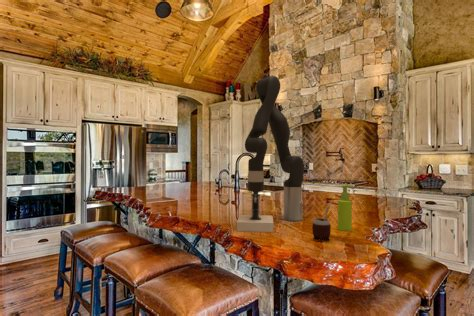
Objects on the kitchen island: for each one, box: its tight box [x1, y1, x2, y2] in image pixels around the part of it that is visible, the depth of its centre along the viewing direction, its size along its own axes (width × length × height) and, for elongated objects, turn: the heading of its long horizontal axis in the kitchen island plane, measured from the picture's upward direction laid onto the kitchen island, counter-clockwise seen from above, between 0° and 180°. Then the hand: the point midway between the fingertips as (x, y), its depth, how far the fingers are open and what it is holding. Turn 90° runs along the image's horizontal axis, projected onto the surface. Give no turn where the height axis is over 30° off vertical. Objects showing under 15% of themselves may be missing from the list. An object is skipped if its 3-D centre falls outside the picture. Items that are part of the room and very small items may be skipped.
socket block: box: [236, 214, 274, 233], centre depth 137 cm, size 16×16×4 cm
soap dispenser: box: [337, 185, 355, 232], centre depth 133 cm, size 6×7×20 cm
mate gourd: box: [311, 201, 333, 243], centre depth 118 cm, size 8×8×15 cm
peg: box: [251, 204, 260, 220], centre depth 137 cm, size 4×4×8 cm
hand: (255, 217), depth 137 cm, fingers closed on peg, 3 cm apart
